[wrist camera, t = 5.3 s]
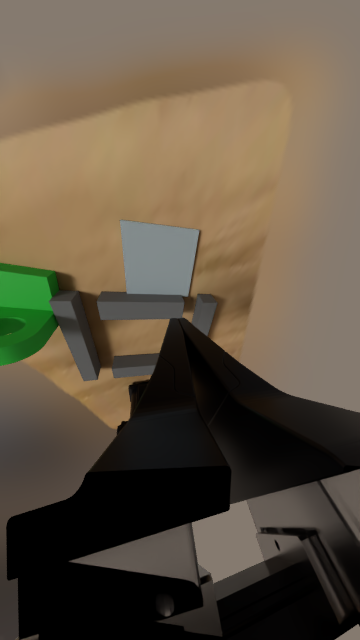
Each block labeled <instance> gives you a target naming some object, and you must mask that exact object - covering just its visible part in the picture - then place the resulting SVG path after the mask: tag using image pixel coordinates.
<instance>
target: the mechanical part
mask: <svg viewBox="0 0 360 640" xmlns="http://www.w3.org/2000/svg"><path fill="white" fill-rule="evenodd" d="M58 291H59V287H58V282H57V277H56V273H55V271H51V270H44V269H37V268H31V267H24V266H18V265H11V264H4V263H0V366H2V365H6V364H11V363H14V362H18V361H20V360H23V359H25V358H27V357H29V356H31V355H33V354H35V353H36V352H38V351H39V350H40V349H41V348H42V347H43V346H44V345H45V344H46V343H47V341H48V340H49V338H50V337H51V335H52V334H53V333H54V331H55V330H56V328H57V327H58V326H59V324H58V321H57V319H56V317H55V315H54V312H53V310H52V308H51V305H50V303H49V300H50V299H51V298H52V297H53V296H54V295H55V294H56V293H57V292H58ZM10 333H12V334H10ZM7 334H8V335H7Z"/></svg>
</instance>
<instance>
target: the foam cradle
mask: <svg viewBox="0 0 360 640" xmlns="http://www.w3.org/2000/svg"><path fill="white" fill-rule="evenodd" d="M49 303H50V305H51V308H52V310H53V312H54V315H55V317H56V319H57V321H58V324H59V326H60V328H61V330H62V333H63V335H64V337H65V340H66V342H67V344H68V346H69V349H70V351H71V353H72V355H73V358H74V360H75V362H76V365H77V367H78V369H79V371H80V374H81V376H82V378H83V380H84V381H89V380H98V376H99V372H100V368H101V365H100V362H99V359H98V355H97V352H96V348H95V345H94V342H93V338H92V335H91V331H90V328H89V325H88V321H87V318H86V314H85V311H84V308H83V304H82V301H81V297H80V294H79V291H60V290H59V291H58V292H57V293H56V294H55V295H54V296H53V297H52V298H51V299H50V300H49ZM97 306H98V310H99V315H100V319H101V320H135V319H170V318H182V315H183V309H184V300H183V298H182V296H181V295H164V294H127V292H101V294H100V296H99V298H98V300H97ZM216 306H217V302H216V300H215V299H214V298H213V296H212V295H211V294H198V295H197V300H196V305H195V310H194V314H193V319H192V324H193V325H194V326H195V327H196V328H198V329H199V330H200V331H201V332H202V333H204V334H205V335H206V336H208V332H209V329H210V326H211V323H212V319H213V316H214V313H215V310H216ZM159 354H160V353H158V354H142V355H127V356H114V361H113V366H112V371H113V376H114V378H120V377H131V376H141V375H152V374H153V371H154V369H155V366H156V363H157V360H158V357H159Z"/></svg>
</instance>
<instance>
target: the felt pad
mask: <svg viewBox="0 0 360 640" xmlns="http://www.w3.org/2000/svg"><path fill="white" fill-rule="evenodd" d="M120 223H121V234H122V245H123V256H124V267H125V278H126V289H127V294H164V295H181V296H182V297H188V294H189V288H190V282H191V276H192V270H193V265H194V259H195V253H196V247H197V241H198V235H199V230H197V229H190V228H182V227H174V226H166V225H158V224H150V223H143V222H135V221H127V220H120Z"/></svg>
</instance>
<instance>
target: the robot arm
mask: <svg viewBox="0 0 360 640" xmlns="http://www.w3.org/2000/svg"><path fill="white" fill-rule="evenodd" d="M129 395H130V402H131V412H130V419H129V420H128V421H122V423H121V425H119V426H118V428H117V436H116V437H115V439H114V440H113V441H112V442H111V444H110V445H109V446H108V447H107V449H106V450H105V451H104V452H103V454H102V455H101V456H100V457H99V459H98V460H97V461H96V463H95V464H94V465H93V466H92V468H91V469H90V470H89V471H88V472H87V473H86V475H85V478H84V480H83V482H82V485H81V486H80V488H79V489H78V491H77V492H76V493H75V494H74V495H73V496H72V497H70V498H68V499H66V500H63V501H60V502H57V503H54V504H51V505H47V506H44V507H41V508H38V509H35V510H32V511H28V512H25V513H22V514H19V515H16V516H13V517H11V518H10V519H9V520H8V522H7V527H6V530H7V579H8V580H12V579H16V578H18V610H19V611H18V613H19V637H18V638H17V639H16V640H335V639H336V638H338V637H339V636H341V635H342V634H344V633H345V632H347V631H348V630H350V629H351V628H353V627H354V626H355V625H357V624H359V626H360V413H359V412H354V411H350V410H346V409H343V408H339V407H335V406H331V405H327V404H323V403H318V402H315V401H311V400H306V399H303V398H299V397H295V396H291V395H289V394H286V393H284V392H282V391H280V390H278V389H277V388H275V387H274V386H272V385H270V384H269V383H268V382H266V381H265V380H263V379H262V378H260V377H259V376H258V375H256V374H255V373H253V372H252V371H251V370H249V369H248V368H246V367H245V366H244V365H242V364H241V363H239V362H238V361H237V360H236V359H234V358H233V357H232V356H231V355H229V354H228V353H227V352H225V351H224V350H223V349H222V348H221V347H219V346H218V345H217V344H216V343H215V342H213V341H212V340H211V339H210V338H209V337H207V336H206V335H205V334H204V333H202V332H201V331H200V330H199V329H198V328H196V327H195V326H194V325H193V324H191V323H190V322H189V321H188V320H187V319H185V318H170V321H169V325H168V328H167V331H166V334H165V337H164V341H163V344H162V347H161V350H160V354H159V357H158V360H157V363H156V366H155V369H154V371H153V374H152V376H151V378H150V380H149V382H148V383H144V384H134V385H129ZM244 500H247V503H248V506H249V509H250V512H251V515H252V517H253V520H254V523H255V526H256V529H257V531H258V533H256V538H257V540H258V543H259V546H260V549H261V552H262V555H263V558H264V561H263V562H261V563H259V564H256V565H254V566H252V567H250V568H247V569H245V570H243V571H241V572H238V573H236V574H234V575H232V576H229V577H227V578H225V579H223V580H221V581H218V582H216V583H214V584H213V580H212V577H211V573H210V572H208V571H207V570H206V569H204V568H203V567H201V566H200V565H199V564H198V562H197V555H196V549H195V542H194V536H193V529H192V522H195V521H198V520H201V519H204V518H207V517H210V516H213V515H217V514H220V513H222V512H226V511H228V510H229V509H230V504H233V503H237V502H240V501H244Z"/></svg>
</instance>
